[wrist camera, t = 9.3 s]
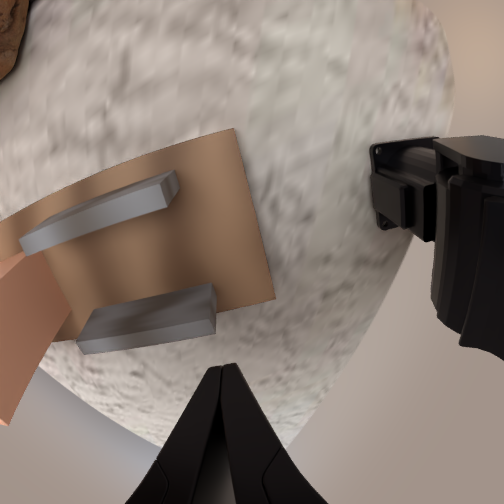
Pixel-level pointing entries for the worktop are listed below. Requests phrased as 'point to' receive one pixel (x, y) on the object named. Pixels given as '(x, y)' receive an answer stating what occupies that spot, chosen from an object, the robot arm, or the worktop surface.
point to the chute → (149, 246)
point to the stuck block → (25, 323)
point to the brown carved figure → (11, 31)
